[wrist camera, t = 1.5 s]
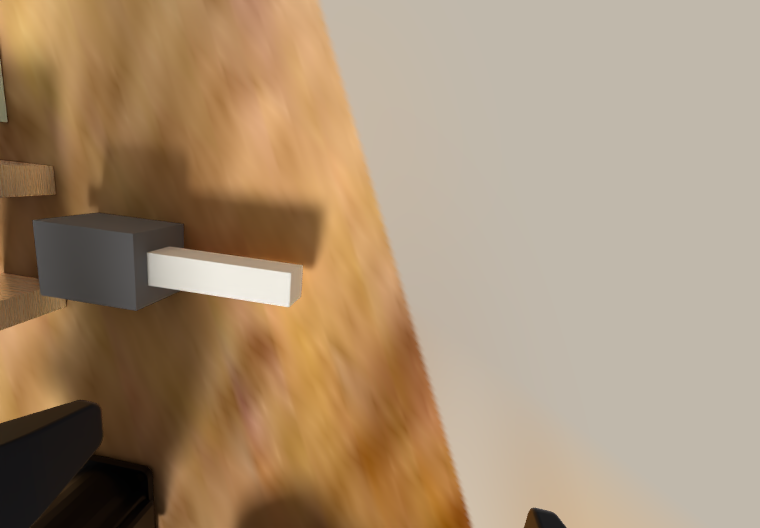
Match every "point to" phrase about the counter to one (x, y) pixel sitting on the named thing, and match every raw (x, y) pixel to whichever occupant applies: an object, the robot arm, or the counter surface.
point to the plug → (147, 264)
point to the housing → (15, 292)
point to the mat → (2, 100)
